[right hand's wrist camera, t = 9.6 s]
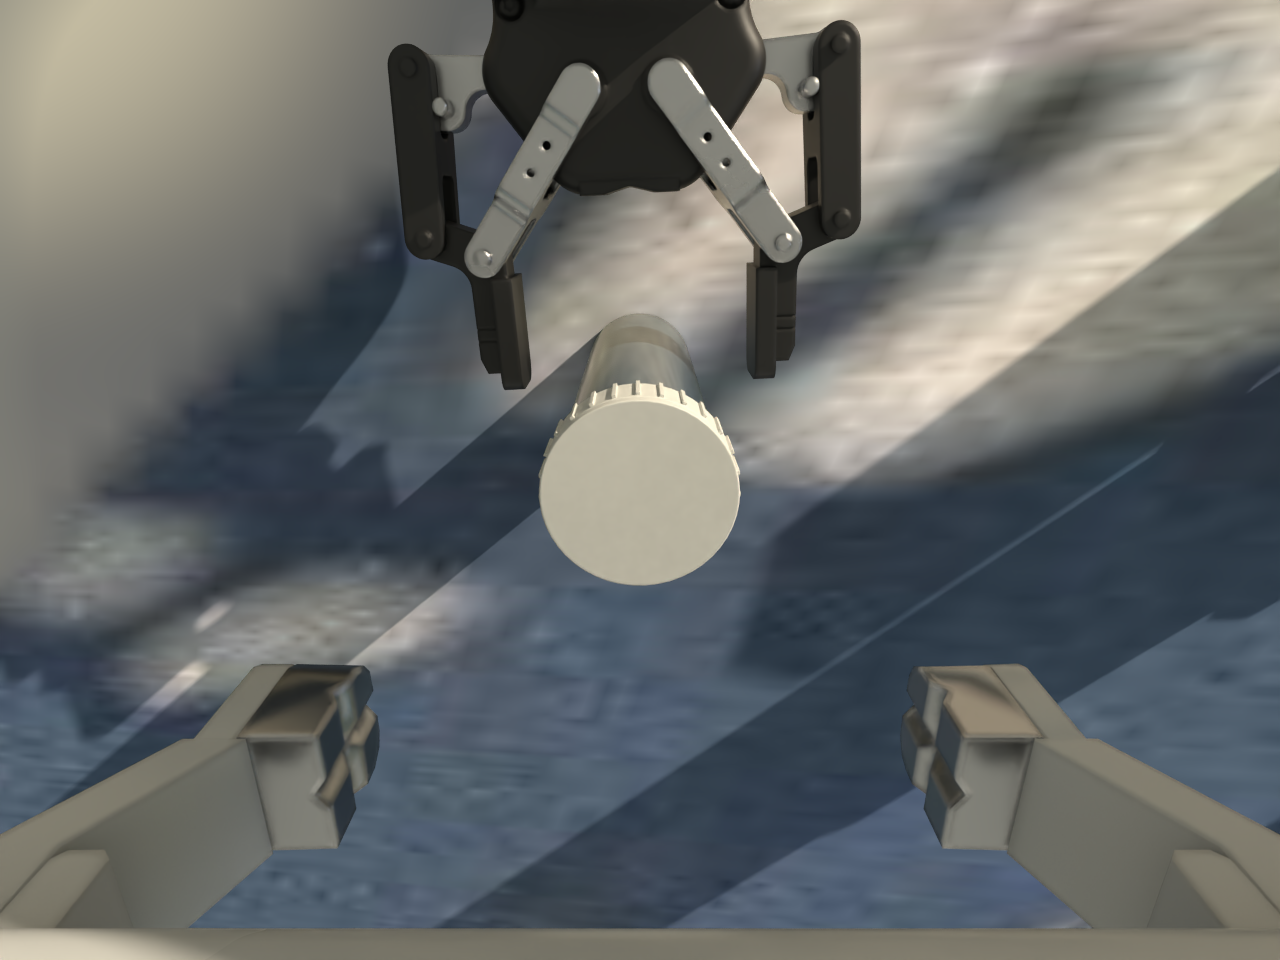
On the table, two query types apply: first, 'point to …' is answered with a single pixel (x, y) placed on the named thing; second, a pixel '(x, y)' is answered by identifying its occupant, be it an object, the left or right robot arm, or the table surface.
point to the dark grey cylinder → (639, 357)
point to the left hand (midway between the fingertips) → (639, 379)
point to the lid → (639, 484)
